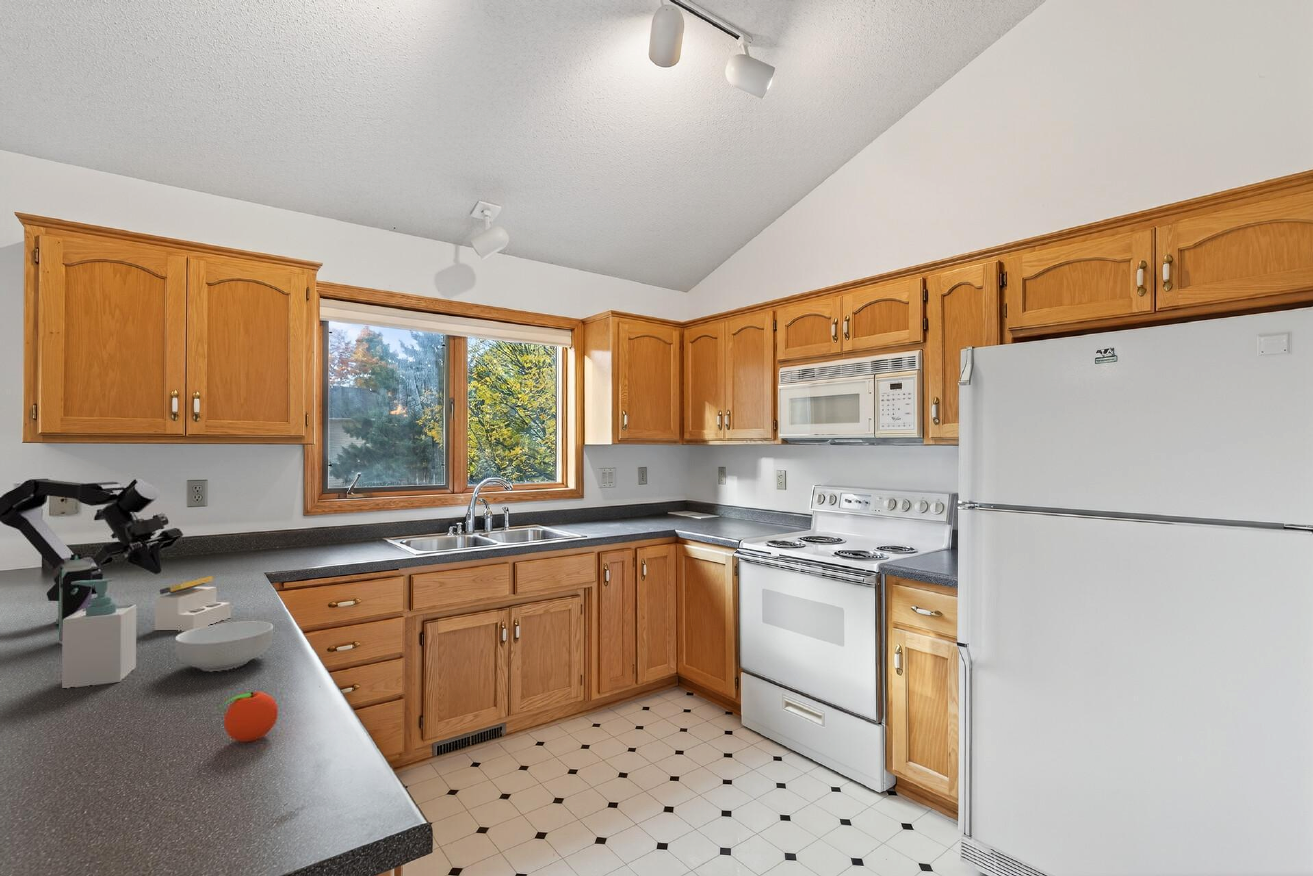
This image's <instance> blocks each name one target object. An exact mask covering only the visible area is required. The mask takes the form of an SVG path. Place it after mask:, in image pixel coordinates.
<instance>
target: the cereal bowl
mask: <svg viewBox="0 0 1313 876" xmlns="http://www.w3.org/2000/svg"><path fill="white" fill-rule="evenodd" d="M273 638H274V625H273V624H272V623H270V622H267V621H259V620H244V621H233V622H223V623H216V624H213V625H210V626H204V627H200V628H196V629H192V630H188V631H182V632H180V633H179V634H177V635H176V636H175V638H174V651H175V655H176V657H177V659H178V660H179V661H180V662H181V663H182V664H184V665H186V666H189V667H191V668H192V667H193V668H196V669H200V670H201V671H203V672H206V671H209V672H210V673H214V672H213V671H218V672H222V671H221V670H226V671H230V670H229V669H231V670H233V669H232V668H235V669H237V667H238V668H240V667H239V666H241V667H243V666H244V664H245V665H246V664H247V663H248V662H250V661H251V660H254V659H256V658H258V657H259V656H261V655H262V654H264V653H265V652H266V651H267V650H268V648H269V647H270V646H271V644H272V642H273ZM242 665H243V666H242ZM209 672H208V673H209Z"/></svg>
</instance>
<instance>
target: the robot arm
mask: <svg viewBox="0 0 1313 876" xmlns="http://www.w3.org/2000/svg"><path fill="white" fill-rule="evenodd" d="M48 497H56V498H64V499H65V498H67V499H68V498H69V499H74V500H76V501H78V502H79V503H80V504H83V505H87V506H89V507H93V506H102V505H103V506H105V507H103V508H99V509H97V510H96V513H95V515H94V518H93V520H94V521H102V520H104V522H105V523H106V525H108V527H109V528H110V530H111V532H112V533H111V535H110V536H111V538H112V539H117V540H118V541H116V542H113V543H109V544H105V545H103V546H102V547H101V548H100V549H99V550H97V552H96V553H95V554H94V555H93V558H92V557H89V556H88V557H83V558H84V560H85V561H87V562H90V563H91V566H92V580H104V573H103V572H102V570H101V568H102V567H103V566H107V565H110V564H111V563H112V561H113V557H116V556H117V557H118V556H120V555H124V557H125V558H124V559H123V561H122V562H124V563H130V564H132V565H135V566H138V567H140V568H142V569H144V570H146V571H148V572H151V573H152V574H155V575H159V574H160V573H161V572H162V567H161V561H160V551H162V550H165V549H169V548H171V547H173V546H174V545H175V544H176V543H177V542H178V541H179V540H180V539H181V538H182V537H183V536H184V533H183V532H182V530H181V528H177V527H174V528H169V529H165V526H167V525H169V520H168V517H167V516H166V514H165V513H163V512H162V513H158V514H155V515H153V516H152V518H148V519H144V518H138V517H137V514H135V513H141V512H142V511H144V510H145V509H146V508H147V507H148V506H150V505H151V504H152V503H153V502H154V501H156V500H157V499H158V498H159V497H160V492H159V490H158V488H157V487H155V486H153V485H152V484H150V483H148V482H145V481H144V480H143V478H135V479H133V480H132V481H130V483H129V485H127V486H126V487H123V486H122V485H121V483H120V482H118V481H107V482H104V481H103V482H91V483H83V482H72V481H63V480H54V479H50V478H33V479H31V478H30V479H28V480H26V481H24V482H23V483H22V484H20V485H19V486H18V487H16V488H14V489H12V490H10V491H8V492H6V493H4V494H2V496H0V522H1V523H2V525H5V526H8V527H10V528H12V529H13V528H14V529H15V530H18V531H19V532H20V533H21V534H22V535H23V536H24V537H25V538H26V540H27V541H28V542H29V543H30V544H31V545H32V547H34V549H36V551H37V552H38V553H39V554H40V555H41V557H43V558H44V560H45V561H46V562H47V563H48V564H49V566H51V568H53V582H54V585H53V586H52V587H50V588H49V590H48V591H47V592H46V596H47V599H48V601H49V602H58V604H57V608H58V609H57V613H58V616H57V618H56V619H55V626H58V627H59V585H60V568H61V567H60V566H61V565H63V564H65V563H66V562H68V560H69V559H70V558H71V554H74V553H73V551H72V550H71V549H70V548H69V547H68V546H67V544H65V542H64V541H63V540H62V539H61V537H59V535H57V534H56V532H55V531H54V530H53V529H52V528H51V527H50V526H49V525H48V523H47V522H46V521H45V520H44V519H43V513H44V510H43V509H44V508H43V506H44V505H45V504H46V503H47V502H48ZM164 529H165V530H164ZM159 530H161V532H160V533H159V534H158V535H157V536H156V537H153V536H155V535H156V534H157V532H156V531H159ZM152 537H153V538H152ZM96 594H97V592H96V591H95V586H94V587H92V592H91V596H92V595H96Z"/></svg>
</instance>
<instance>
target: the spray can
mask: <svg viewBox="0 0 1313 876" xmlns="http://www.w3.org/2000/svg"><path fill="white" fill-rule="evenodd" d="M84 558H85V557H83V556H82V554H81V553H75V554H74V553H73V554H71V558H70V559H69V560H68V562H66V563H65V564H63V565H61V566H60V567H61V568H60V585H59V625H58V644H59V645H62V641H63V619H65V618H67V617H68V616H70V615H72V614H74V613H76V612H78V611H80V610H81V609H84V608H86V607H87V606H88V605H91V599H92V595H91V592H92V587H90V586H83V585H78V584H74V585H72V584H71V582H75V581H82V580H92V566H91V563H90V562H87V561H85V560H84Z"/></svg>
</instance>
